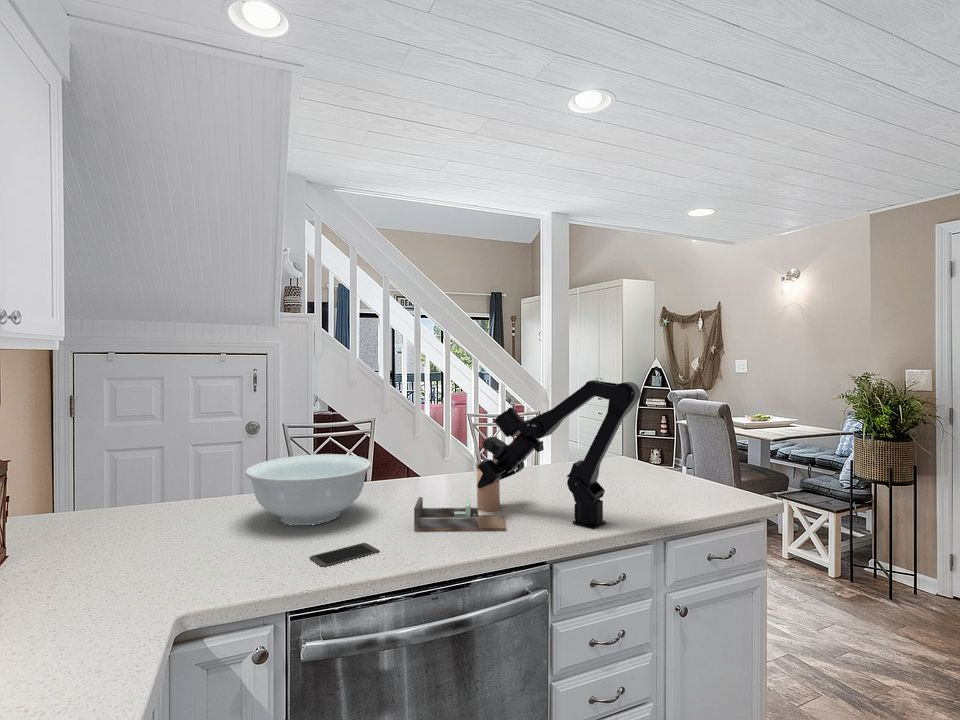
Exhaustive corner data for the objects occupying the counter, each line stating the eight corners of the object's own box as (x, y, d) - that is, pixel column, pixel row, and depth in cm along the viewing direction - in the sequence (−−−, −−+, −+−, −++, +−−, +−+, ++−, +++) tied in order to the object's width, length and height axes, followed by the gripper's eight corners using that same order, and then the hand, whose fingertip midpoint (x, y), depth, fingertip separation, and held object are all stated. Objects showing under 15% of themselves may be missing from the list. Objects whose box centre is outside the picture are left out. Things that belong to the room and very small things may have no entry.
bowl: (270, 547, 125) (269, 484, 125) (231, 516, 150) (230, 463, 150) (392, 520, 145) (392, 465, 145) (340, 496, 170) (339, 450, 170)
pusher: (470, 516, 145) (470, 498, 145) (470, 524, 138) (470, 506, 138) (454, 516, 145) (454, 499, 145) (453, 524, 138) (453, 506, 138)
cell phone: (381, 554, 121) (381, 550, 121) (322, 570, 112) (322, 566, 112) (365, 545, 127) (365, 542, 127) (307, 560, 118) (307, 556, 118)
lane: (504, 517, 147) (503, 496, 147) (506, 531, 136) (505, 507, 136) (419, 518, 147) (418, 497, 147) (414, 531, 136) (414, 508, 136)
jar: (505, 507, 156) (504, 462, 156) (489, 513, 151) (489, 466, 151) (487, 503, 161) (487, 459, 161) (471, 508, 156) (471, 463, 156)
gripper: (514, 424, 162) (482, 457, 168) (484, 432, 146) (449, 468, 152) (539, 453, 158) (505, 486, 164) (510, 464, 142) (474, 500, 148)
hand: (484, 484), depth 157 cm, fingers closed on jar, 7 cm apart
